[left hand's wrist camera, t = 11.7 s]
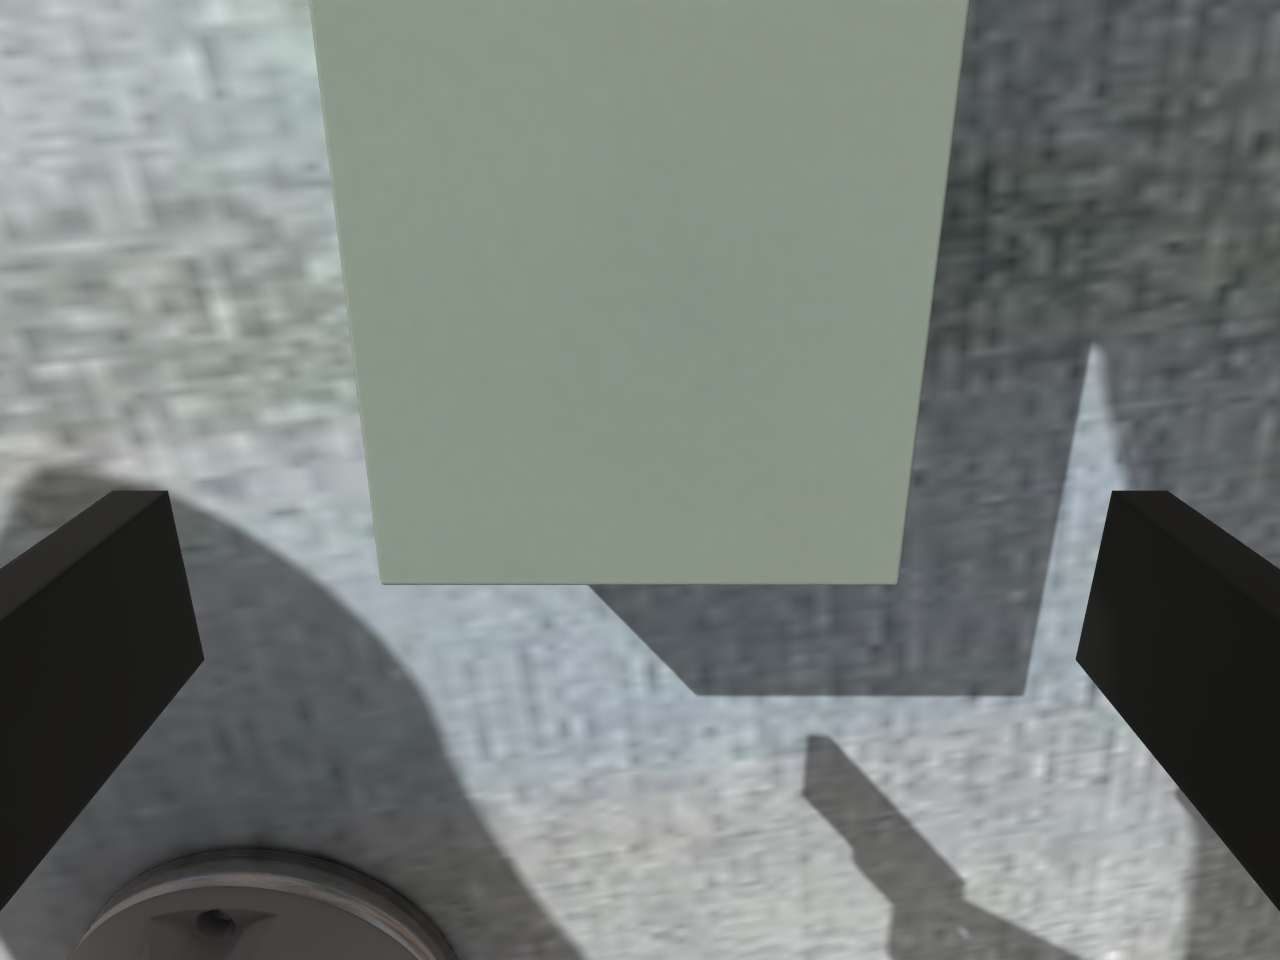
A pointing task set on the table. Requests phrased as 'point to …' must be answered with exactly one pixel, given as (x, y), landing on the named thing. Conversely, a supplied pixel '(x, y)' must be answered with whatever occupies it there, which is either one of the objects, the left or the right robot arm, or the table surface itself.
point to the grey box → (639, 280)
